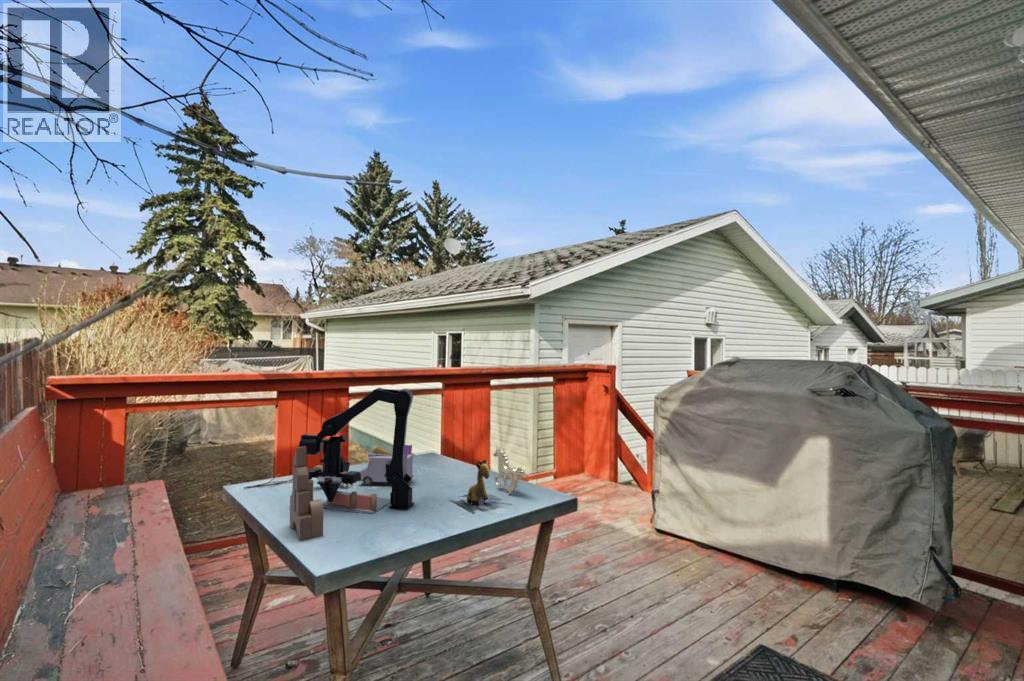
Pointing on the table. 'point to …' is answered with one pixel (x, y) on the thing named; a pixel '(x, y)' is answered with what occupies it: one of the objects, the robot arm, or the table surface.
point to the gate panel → (342, 499)
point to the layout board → (380, 503)
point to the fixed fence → (363, 501)
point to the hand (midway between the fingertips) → (330, 501)
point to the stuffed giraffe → (479, 492)
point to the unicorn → (507, 471)
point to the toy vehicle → (383, 465)
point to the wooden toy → (304, 501)
